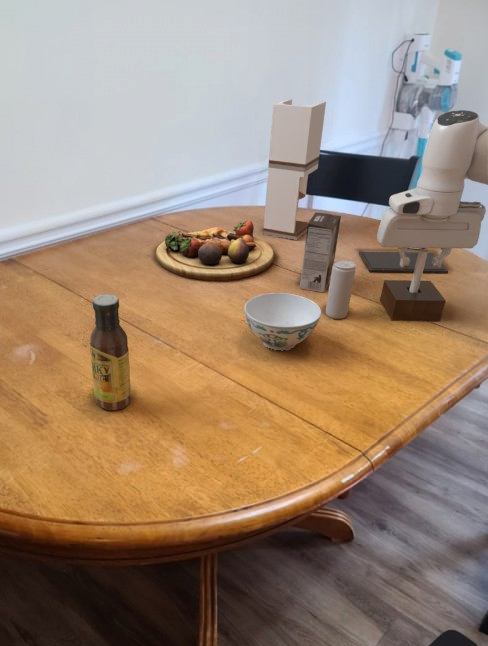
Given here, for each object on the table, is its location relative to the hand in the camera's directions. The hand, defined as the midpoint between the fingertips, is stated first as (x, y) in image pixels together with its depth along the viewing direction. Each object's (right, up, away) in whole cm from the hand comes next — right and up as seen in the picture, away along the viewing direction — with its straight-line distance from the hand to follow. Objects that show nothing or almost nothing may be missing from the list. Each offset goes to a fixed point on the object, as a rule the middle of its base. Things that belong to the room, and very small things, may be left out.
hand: (419, 266), depth 122 cm
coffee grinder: (-20, +22, +49) cm, 57 cm away
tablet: (+7, +8, +29) cm, 30 cm away
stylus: (0, -9, +6) cm, 10 cm away
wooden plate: (-43, +10, +32) cm, 54 cm away
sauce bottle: (-63, -29, -23) cm, 74 cm away
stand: (0, -9, +6) cm, 10 cm away
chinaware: (-31, -17, -6) cm, 36 cm away
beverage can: (-17, -10, +4) cm, 20 cm away
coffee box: (-18, 0, +18) cm, 26 cm away
